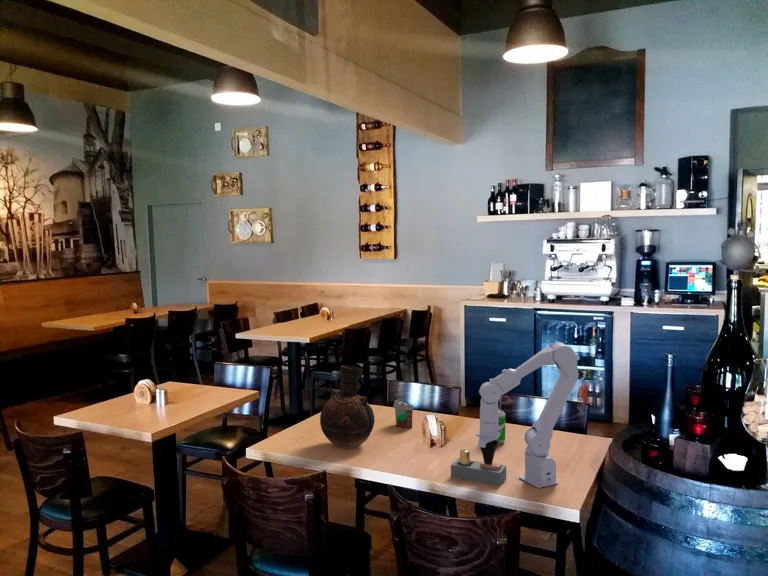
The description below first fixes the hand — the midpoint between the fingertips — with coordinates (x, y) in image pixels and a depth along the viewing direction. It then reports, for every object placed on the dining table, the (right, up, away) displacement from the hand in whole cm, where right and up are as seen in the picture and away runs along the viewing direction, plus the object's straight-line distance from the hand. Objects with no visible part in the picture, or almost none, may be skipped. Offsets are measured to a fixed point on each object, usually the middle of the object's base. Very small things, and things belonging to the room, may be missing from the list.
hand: (488, 463), depth 190 cm
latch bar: (+1, -1, 0) cm, 1 cm away
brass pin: (-7, -5, +4) cm, 9 cm away
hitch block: (-3, -5, +2) cm, 6 cm away
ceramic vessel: (-47, -4, +35) cm, 58 cm away
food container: (-26, -2, +61) cm, 66 cm away
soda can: (+9, -3, +39) cm, 40 cm away
